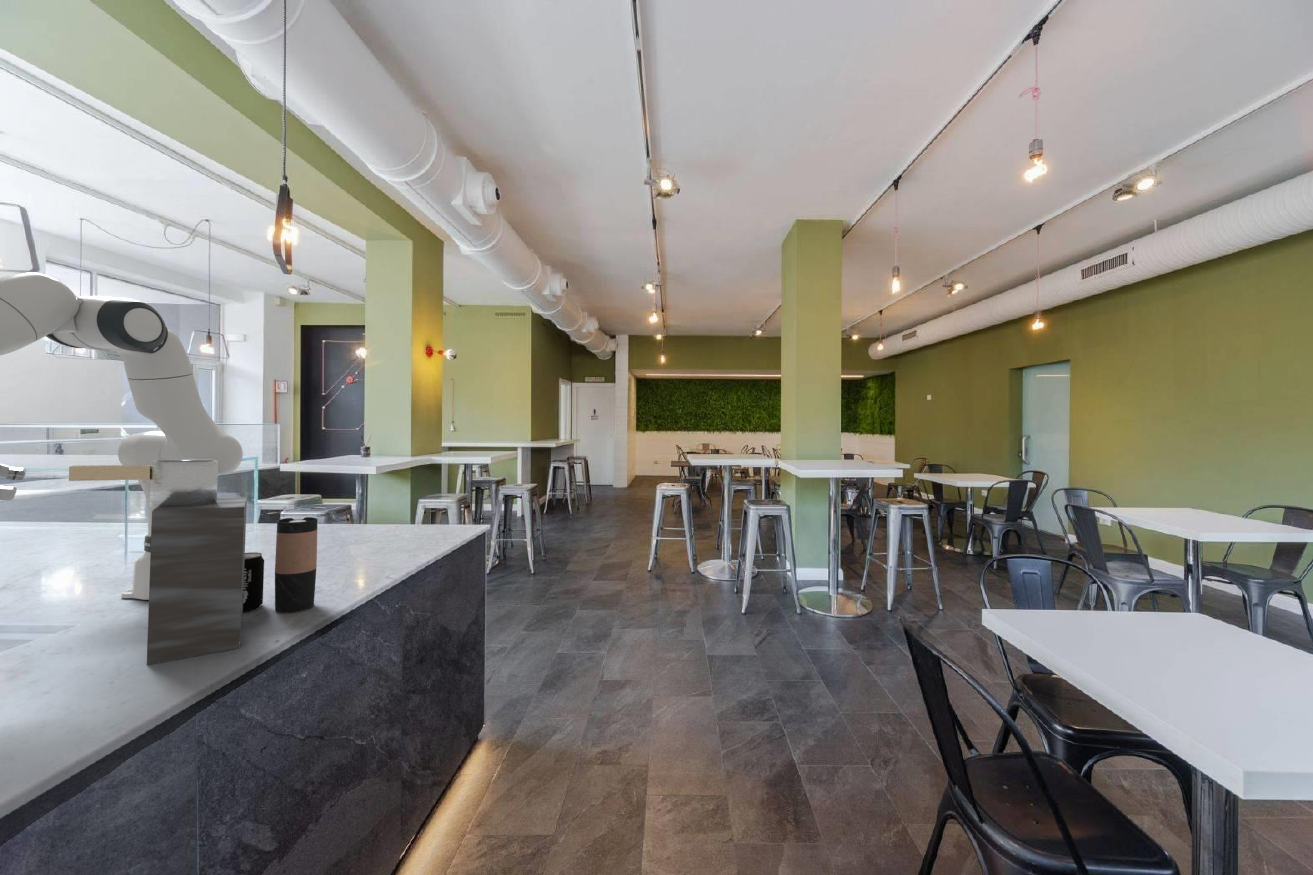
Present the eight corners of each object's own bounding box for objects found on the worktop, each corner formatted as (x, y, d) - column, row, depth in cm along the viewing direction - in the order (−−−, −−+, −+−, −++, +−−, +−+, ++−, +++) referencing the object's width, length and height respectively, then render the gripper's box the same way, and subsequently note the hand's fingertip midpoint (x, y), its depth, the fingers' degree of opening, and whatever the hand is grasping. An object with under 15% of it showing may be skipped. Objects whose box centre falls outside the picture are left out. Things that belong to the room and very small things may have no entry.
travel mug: (293, 615, 108) (296, 523, 108) (264, 611, 110) (267, 521, 110) (323, 604, 115) (326, 518, 116) (296, 600, 117) (298, 516, 117)
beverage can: (269, 607, 112) (270, 554, 112) (234, 616, 106) (236, 560, 107) (252, 602, 115) (254, 550, 115) (218, 610, 109) (219, 556, 109)
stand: (162, 633, 96) (166, 499, 96) (242, 621, 104) (246, 497, 104) (146, 664, 84) (152, 511, 84) (239, 648, 91) (244, 506, 91)
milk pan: (77, 505, 87) (79, 458, 87) (218, 500, 98) (219, 458, 98) (61, 512, 80) (63, 461, 80) (214, 505, 91) (216, 461, 91)
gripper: (-154, 474, 65) (14, 487, 75) (-102, 431, 79) (35, 448, 89) (-167, 518, 65) (2, 526, 76) (-113, 469, 79) (24, 481, 89)
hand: (20, 483), depth 82 cm, fingers open, 8 cm apart
